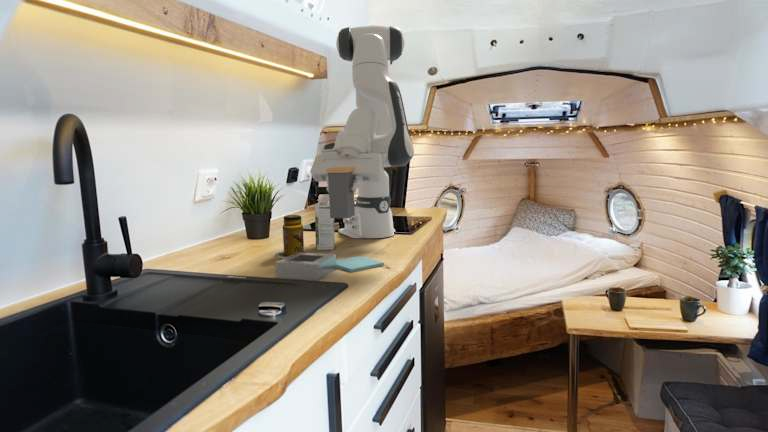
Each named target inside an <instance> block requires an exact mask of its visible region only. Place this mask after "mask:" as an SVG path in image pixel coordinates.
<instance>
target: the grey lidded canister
mask: <svg viewBox="0 0 768 432" xmlns="http://www.w3.org/2000/svg"><path fill="white" fill-rule="evenodd" d="M354 168H355V167H335V168H329V169H326V173H328V182H329V193H328V197H329V199H328V200H329V202H328V203H330V218H334V219H345V218H350V217H352V216H355V201H354V200H355V199H354V198H355V193H350V191H349V187H350V184H353V183H354V181H353V175H352V171H354Z"/></svg>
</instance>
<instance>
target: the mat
mask: <svg viewBox="0 0 768 432" xmlns="http://www.w3.org/2000/svg"><path fill="white" fill-rule="evenodd" d="M384 264H385V262H383V261H380V260H376V259H373V258H370V257H366V256H363V255H357V256H352V257H348V258H347V257H346V258H341V259H336V267H337V268H338V269H340V270H343V271H346V272H349V273H354V272H359V271H363V270H369V269H373V268H378V267H382V266H385V265H384Z"/></svg>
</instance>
